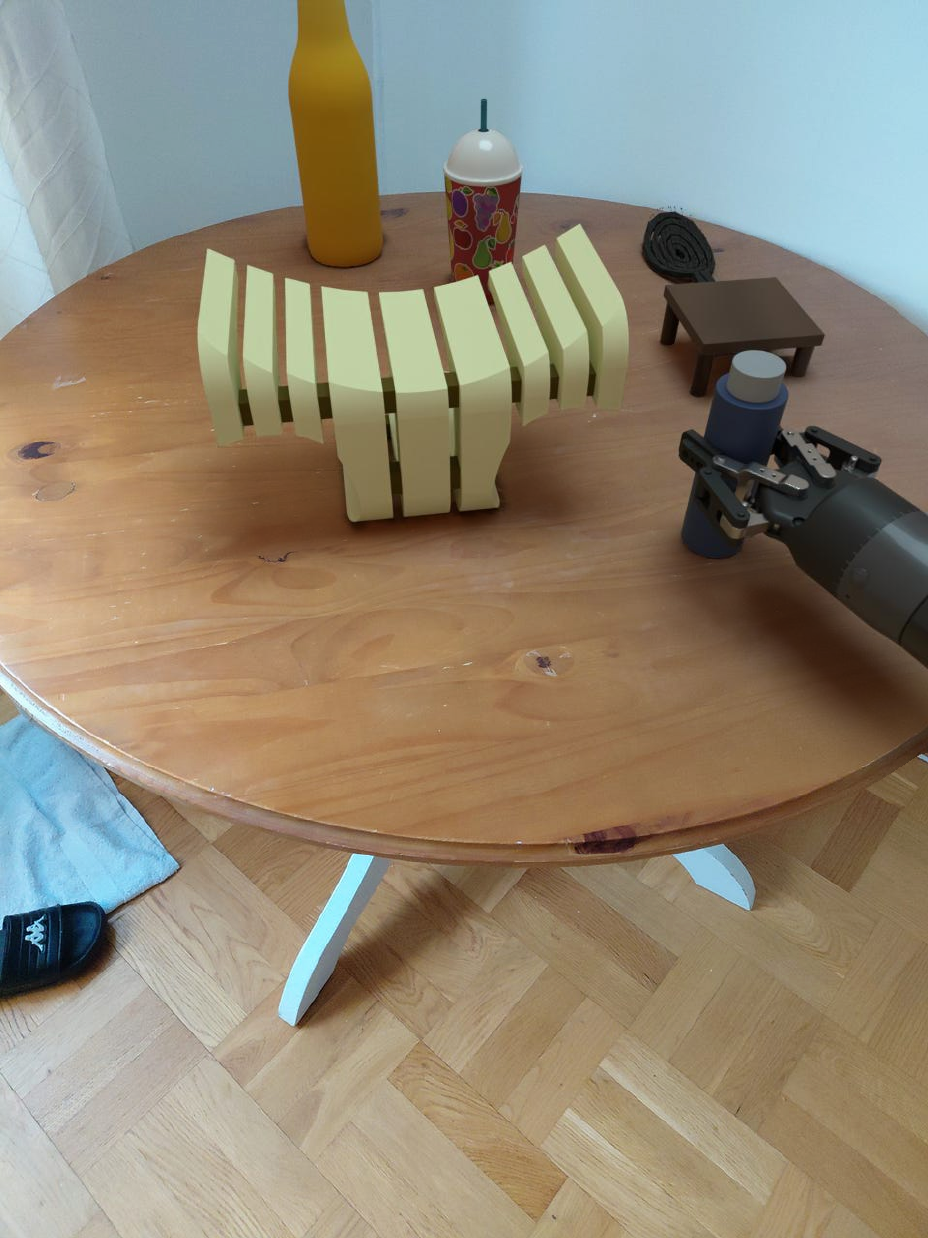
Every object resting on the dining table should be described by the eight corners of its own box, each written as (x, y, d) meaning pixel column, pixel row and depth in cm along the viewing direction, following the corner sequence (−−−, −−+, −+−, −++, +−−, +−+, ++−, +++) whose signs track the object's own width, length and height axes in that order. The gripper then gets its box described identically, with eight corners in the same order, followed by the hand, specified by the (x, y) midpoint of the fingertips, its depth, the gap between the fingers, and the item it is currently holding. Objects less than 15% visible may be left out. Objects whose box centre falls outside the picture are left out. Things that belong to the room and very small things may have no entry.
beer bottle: (294, 251, 107) (252, -37, 86) (353, 229, 112) (326, -49, 90) (339, 276, 103) (306, -21, 81) (398, 252, 107) (382, -36, 86)
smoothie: (509, 273, 103) (516, 84, 88) (524, 306, 98) (534, 110, 83) (440, 279, 102) (436, 88, 87) (451, 312, 97) (449, 115, 82)
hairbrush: (691, 312, 91) (637, 205, 107) (684, 343, 93) (632, 234, 109) (767, 309, 91) (702, 202, 107) (758, 340, 94) (695, 232, 110)
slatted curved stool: (245, 551, 70) (194, 352, 57) (249, 437, 80) (207, 248, 67) (604, 515, 73) (634, 318, 60) (562, 409, 83) (579, 223, 70)
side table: (761, 330, 94) (776, 276, 89) (806, 389, 86) (825, 334, 81) (655, 338, 93) (665, 284, 88) (691, 399, 85) (703, 343, 80)
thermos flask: (730, 515, 73) (779, 342, 61) (751, 555, 69) (809, 379, 58) (673, 521, 72) (712, 347, 60) (692, 561, 69) (737, 386, 57)
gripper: (787, 641, 56) (630, 497, 66) (939, 566, 61) (770, 442, 71) (822, 556, 50) (645, 413, 61) (986, 481, 55) (796, 360, 65)
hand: (713, 429), depth 66 cm, fingers closed on thermos flask, 5 cm apart
